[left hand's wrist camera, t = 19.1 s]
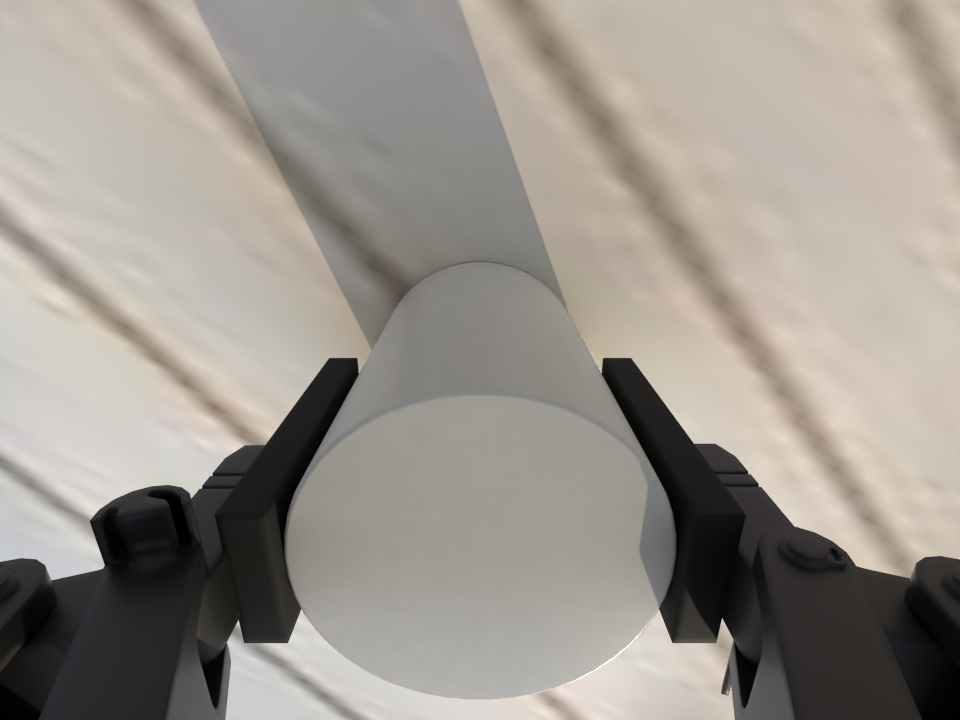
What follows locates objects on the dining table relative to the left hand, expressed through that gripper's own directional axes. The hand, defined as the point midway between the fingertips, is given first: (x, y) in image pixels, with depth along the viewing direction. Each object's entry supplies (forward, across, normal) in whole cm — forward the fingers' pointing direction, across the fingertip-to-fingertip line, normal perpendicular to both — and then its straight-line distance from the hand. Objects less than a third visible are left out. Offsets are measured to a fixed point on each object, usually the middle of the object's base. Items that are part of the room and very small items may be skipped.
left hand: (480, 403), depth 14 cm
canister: (+3, 0, 0) cm, 3 cm away
